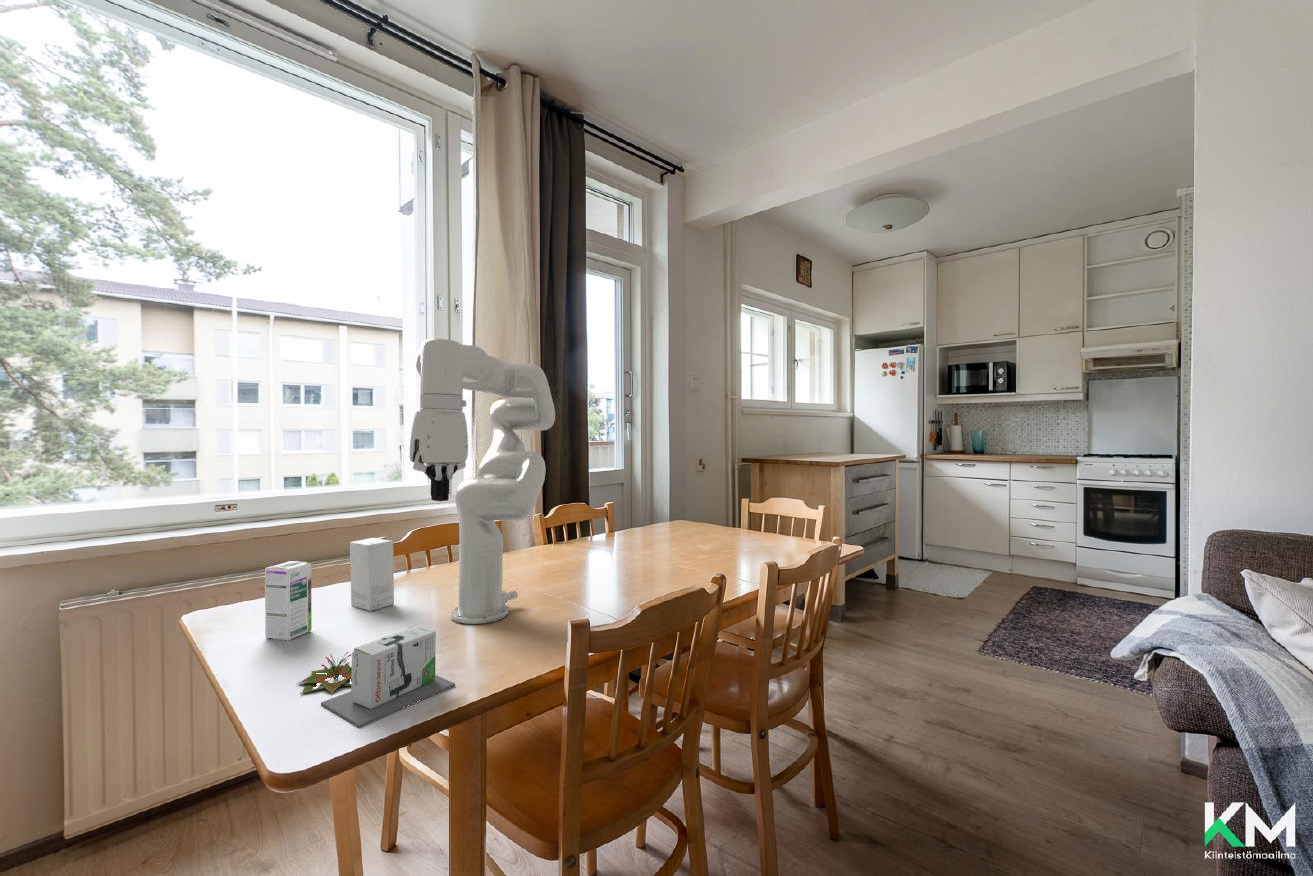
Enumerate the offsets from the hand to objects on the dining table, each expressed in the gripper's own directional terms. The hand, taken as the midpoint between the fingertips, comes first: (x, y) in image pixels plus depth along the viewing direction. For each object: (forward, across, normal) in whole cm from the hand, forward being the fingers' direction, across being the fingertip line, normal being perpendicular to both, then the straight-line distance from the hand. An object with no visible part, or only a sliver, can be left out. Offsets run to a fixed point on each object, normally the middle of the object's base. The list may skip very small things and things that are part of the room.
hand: (439, 500), depth 106 cm
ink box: (+24, +8, +9) cm, 27 cm away
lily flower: (+30, +17, -3) cm, 35 cm away
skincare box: (+29, -7, -36) cm, 47 cm away
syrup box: (+29, +13, -31) cm, 45 cm away
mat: (+29, +15, +10) cm, 34 cm away
